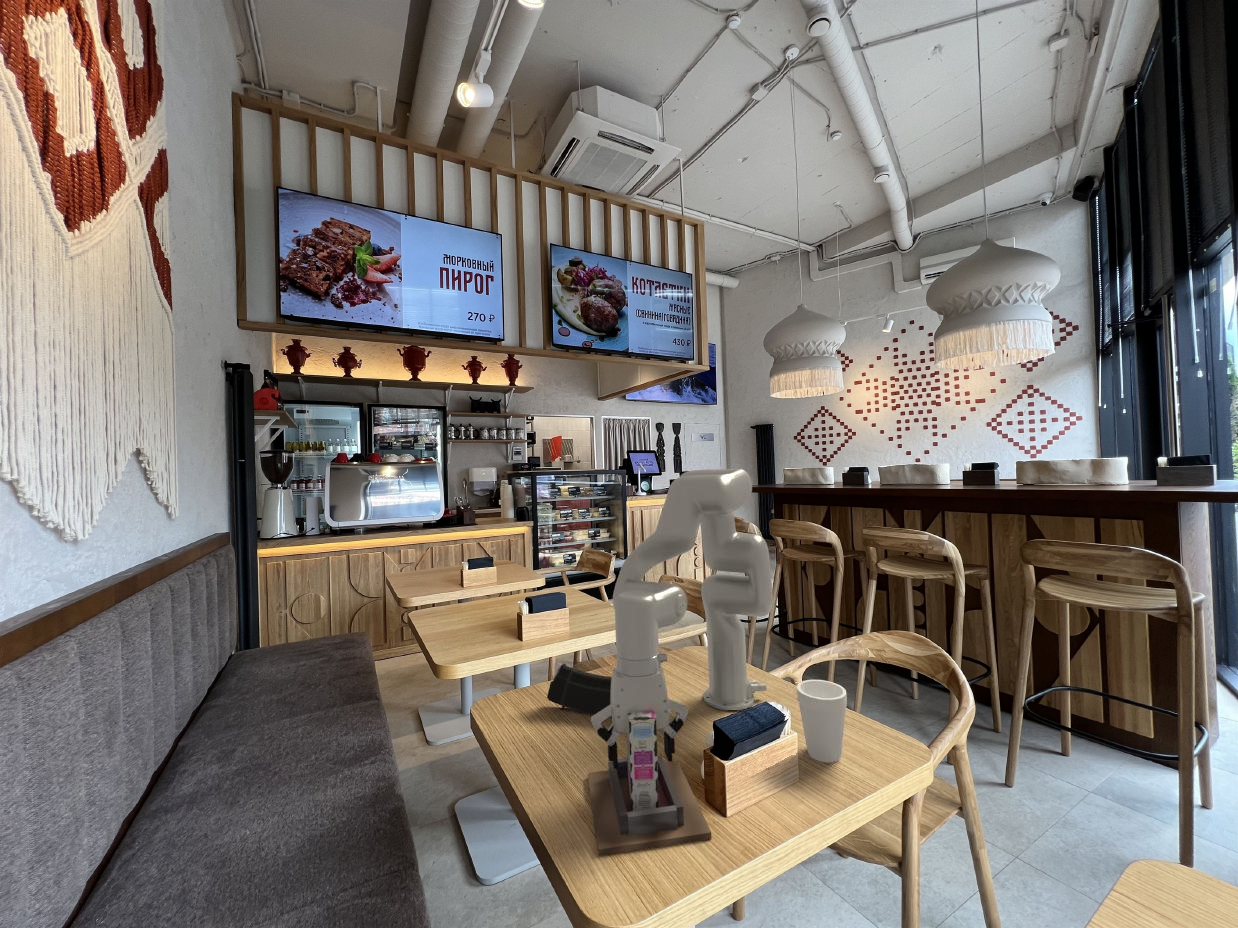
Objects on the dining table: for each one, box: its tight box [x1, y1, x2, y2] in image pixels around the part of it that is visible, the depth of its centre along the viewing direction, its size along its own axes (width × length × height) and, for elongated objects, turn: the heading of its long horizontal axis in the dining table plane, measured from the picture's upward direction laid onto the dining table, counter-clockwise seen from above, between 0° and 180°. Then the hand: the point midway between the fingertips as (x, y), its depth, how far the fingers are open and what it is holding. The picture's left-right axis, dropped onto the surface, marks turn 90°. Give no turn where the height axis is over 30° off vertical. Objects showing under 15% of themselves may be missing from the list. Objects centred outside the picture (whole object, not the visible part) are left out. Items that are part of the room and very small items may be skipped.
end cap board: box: [587, 754, 713, 857], centre depth 88 cm, size 18×20×4 cm
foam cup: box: [796, 679, 848, 763], centre depth 102 cm, size 10×9×13 cm
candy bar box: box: [626, 712, 659, 811], centre depth 89 cm, size 11×5×16 cm, turn 2°
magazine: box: [546, 663, 612, 719], centre depth 122 cm, size 17×3×30 cm
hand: (641, 760), depth 88 cm, fingers open, 9 cm apart
